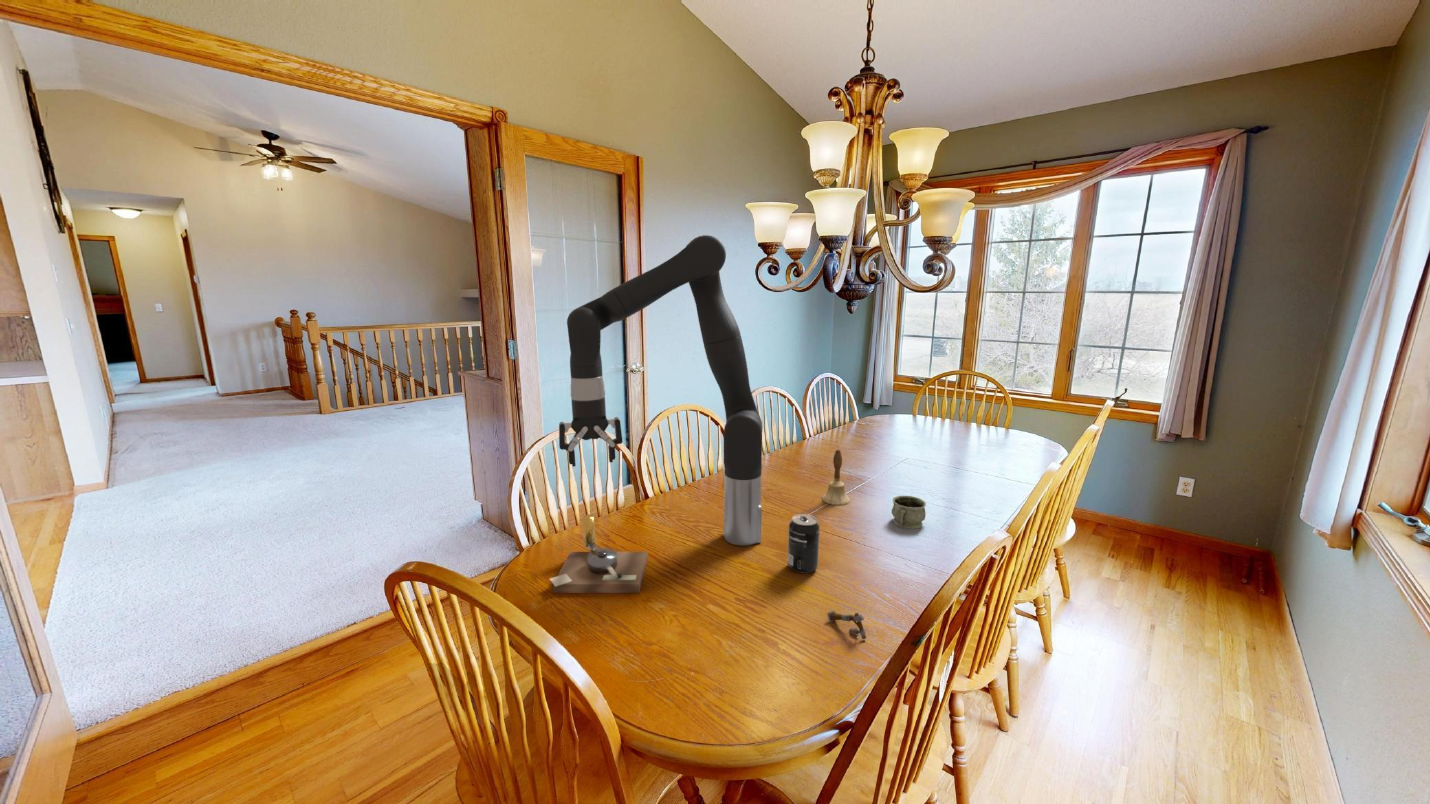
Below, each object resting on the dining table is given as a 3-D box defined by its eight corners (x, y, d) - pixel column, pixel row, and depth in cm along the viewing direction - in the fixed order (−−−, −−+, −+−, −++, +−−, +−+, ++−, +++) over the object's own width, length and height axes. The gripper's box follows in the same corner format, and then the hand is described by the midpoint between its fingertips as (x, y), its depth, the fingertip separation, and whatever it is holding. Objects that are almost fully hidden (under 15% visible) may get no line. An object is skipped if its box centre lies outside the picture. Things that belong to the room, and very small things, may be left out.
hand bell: (850, 506, 154) (853, 454, 151) (821, 504, 156) (824, 452, 152) (849, 496, 162) (852, 446, 159) (822, 493, 164) (824, 445, 160)
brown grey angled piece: (865, 641, 93) (858, 615, 94) (833, 636, 100) (826, 612, 100) (872, 637, 94) (865, 611, 95) (839, 632, 101) (833, 608, 101)
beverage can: (808, 558, 124) (810, 511, 121) (823, 572, 118) (825, 523, 115) (782, 563, 122) (783, 515, 119) (796, 578, 115) (798, 527, 113)
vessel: (899, 511, 151) (901, 491, 149) (931, 519, 145) (933, 498, 144) (883, 525, 141) (885, 504, 140) (916, 535, 136) (918, 512, 135)
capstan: (628, 576, 111) (627, 543, 110) (599, 585, 108) (597, 550, 106) (601, 542, 127) (599, 512, 125) (574, 548, 123) (573, 517, 122)
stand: (647, 559, 123) (647, 547, 123) (638, 595, 109) (638, 582, 108) (565, 559, 123) (564, 547, 122) (545, 595, 108) (544, 582, 108)
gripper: (617, 391, 125) (620, 455, 129) (555, 395, 121) (560, 462, 124) (621, 396, 118) (625, 465, 122) (556, 401, 114) (561, 472, 117)
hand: (592, 463), depth 123 cm, fingers open, 8 cm apart
